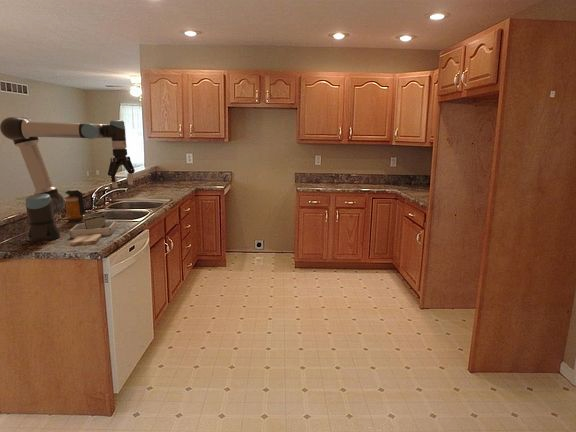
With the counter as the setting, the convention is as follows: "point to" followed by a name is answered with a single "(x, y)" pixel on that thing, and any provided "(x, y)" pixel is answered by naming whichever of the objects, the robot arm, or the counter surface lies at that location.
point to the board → (86, 239)
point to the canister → (74, 206)
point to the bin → (81, 229)
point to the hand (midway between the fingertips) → (123, 186)
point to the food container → (94, 221)
